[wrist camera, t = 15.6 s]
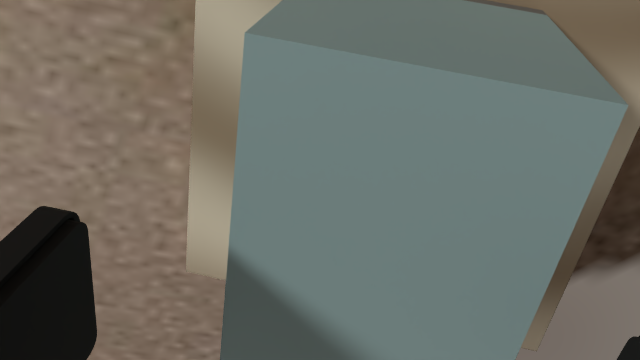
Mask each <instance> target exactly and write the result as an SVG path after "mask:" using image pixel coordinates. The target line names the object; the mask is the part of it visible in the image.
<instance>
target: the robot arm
mask: <svg viewBox="0 0 640 360" xmlns="http://www.w3.org/2000/svg"><path fill="white" fill-rule="evenodd" d="M96 337H97V327H96V315H95V304H94V293H93V282H92V271H91V259H90V248H89V237H88V228H87V225H86V224H85V223H83V222H80V219H79V216H78V215H77V213H75V212H71V211H66V210H61V209H57V208H52V207H47V206H41V207H39V208H37V209H36V210H34V211H33V212H32V213H31V214H30V215H29V216H28V217H27V218H26V219H25V220H23V221H22V222H21V223H20V224H19V225H18V226H17V227H16V228H15V229H14V230H12V231H11V232H10V233H9V234H8V235H7V236H6V237H5V238H4V239H3V240H2V241H0V360H86V359H87V358H88V356H89V355H90V353H91V352H92V350H93V347H94V345H95V342H96ZM617 360H640V336H639V337H632V338H630V339H629V340H628V342H627V343H626V345H625V346H624V348H623V350H622V351H621V353H620V355H619V357H618V358H617Z"/></svg>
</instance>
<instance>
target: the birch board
mask: <svg viewBox="0 0 640 360" xmlns="http://www.w3.org/2000/svg"><path fill="white" fill-rule="evenodd" d="M281 1H282V0H196V9H195V36H194V64H193V91H192V119H191V146H190V174H189V202H188V229H187V257H186V272H191V273H195V274H199V275H204V276H208V277H213V278H217V279H221V280H226V274H227V260H228V247H229V234H230V221H231V207H232V194H233V181H234V168H235V154H236V141H237V128H238V115H239V101H240V88H241V75H242V62H243V48H244V35H245V32H246V31H247V30H248V29H250V28H251V27H252V26H253V25H254V24H255V23H257V22H258V21H259V20H260V19H261V18H262V17H264V16H265V15H266V14H267V13H268V12H269V11H271V10H272V9H273V8H274V7H275V6H276V5H278V4H279V3H280V2H281ZM488 1H494V2H499V3H505V4H510V5H516V6H522V7H527V8H533V9H538V10H543V11H544V12H545V13H546V14H547V16H548V17H549V18H550V19H551V20H552V21H553V22H554V23H555V24H556V25H557V27H558V28H559V29H560V30H561V31H562V32H563V33H564V34H565V35H566V37H567V38H568V39H569V40H570V41H571V42H572V43H573V44H574V45H575V46H576V48H577V49H578V50H579V51H580V52H581V53H582V54H583V55H584V56H585V58H586V59H587V60H588V61H589V62H590V63H591V64H592V65H593V66H594V68H595V69H596V70H597V71H598V72H599V73H600V74H601V75H602V76H603V77H604V79H605V80H606V81H607V82H608V83H609V84H610V85H611V86H612V87H613V89H614V90H615V91H616V92H617V93H618V94H619V95H620V96H621V97H622V98H623V100H624V101H625V102H626V103H627V104H628V108H627V110H626V112H625V114H624V117H623V119H622V121H621V123H620V126H619V128H618V130H617V132H616V135H615V137H614V139H613V141H612V144H611V146H610V148H609V150H608V153H607V155H606V157H605V159H604V161H603V164H602V166H601V168H600V170H599V173H598V175H597V177H596V179H595V182H594V184H593V186H592V188H591V191H590V193H589V195H588V197H587V200H586V202H585V204H584V206H583V209H582V211H581V213H580V215H579V218H578V220H577V222H576V224H575V227H574V229H573V231H572V233H571V236H570V238H569V240H568V242H567V244H566V247H565V249H564V251H563V253H562V256H561V258H560V260H559V262H558V265H557V267H556V269H555V271H554V274H553V276H552V278H551V280H550V283H549V285H548V287H547V289H546V292H545V294H544V296H543V298H542V301H541V303H540V305H539V307H538V310H537V312H536V314H535V316H534V318H533V321H532V323H531V325H530V327H529V330H528V332H527V334H526V336H525V339H524V341H523V343H522V345H521V348H524V349H528V350H533V351H537V349H538V347H539V345H540V343H541V341H542V338H543V336H544V334H545V332H546V330H547V328H548V325H549V323H550V321H551V319H552V317H553V315H554V312H555V310H556V308H557V306H558V303H559V301H560V299H561V297H562V295H563V293H564V290H565V288H566V286H567V284H568V282H569V280H570V277H571V275H572V273H573V271H574V269H575V266H576V264H577V262H578V260H579V258H580V255H581V253H582V251H583V249H584V247H585V245H586V242H587V240H588V238H589V236H590V234H591V231H592V229H593V227H594V225H595V223H596V220H597V218H598V216H599V214H600V212H601V209H602V207H603V205H604V203H605V201H606V199H607V196H608V194H609V192H610V190H611V188H612V185H613V183H614V181H615V179H616V177H617V174H618V172H619V170H620V168H621V166H622V164H623V161H624V159H625V157H626V155H627V153H628V150H629V148H630V146H631V144H632V142H633V139H634V137H635V135H636V133H637V131H638V129H639V126H640V0H488Z"/></svg>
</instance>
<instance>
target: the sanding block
mask: <svg viewBox="0 0 640 360" xmlns="http://www.w3.org/2000/svg"><path fill="white" fill-rule="evenodd" d="M627 108H628V104H627V103H626V102H625V101H624V100H623V98H622V97H621V96H620V95H619V94H618V93H617V92H616V91H615V90H614V89H613V87H612V86H611V85H610V84H609V83H608V82H607V81H606V80H605V79H604V77H603V76H602V75H601V74H600V73H599V72H598V71H597V70H596V69H595V68H594V66H593V65H592V64H591V63H590V62H589V61H588V60H587V59H586V58H585V56H584V55H583V54H582V53H581V52H580V51H579V50H578V49H577V48H576V46H575V45H574V44H573V43H572V42H571V41H570V40H569V39H568V38H567V37H566V35H565V34H564V33H563V32H562V31H561V30H560V29H559V28H558V27H557V25H556V24H555V23H554V22H553V21H552V20H551V19H550V18H549V17H548V16H547V14H546V13H545V12H544V11H543V10H538V9H533V8H527V7H522V6H516V5H510V4H505V3H499V2H494V1H488V0H282V1H281V2H280V3H279V4H278V5H276V6H275V7H274V8H273V9H272V10H271V11H269V12H268V13H267V14H266V15H265V16H264V17H262V18H261V19H260V20H259V21H258V22H257V23H255V24H254V25H253V26H252V27H251V28H250V29H248V30H247V31H246V32H245V35H244V48H243V62H242V75H241V88H240V101H239V115H238V128H237V141H236V154H235V168H234V181H233V194H232V207H231V221H230V234H229V247H228V260H227V274H226V287H225V300H224V314H223V327H222V340H221V353H220V360H515V359H516V357H517V354H518V352H519V350H520V348H521V345H522V343H523V341H524V339H525V336H526V334H527V332H528V330H529V327H530V325H531V323H532V321H533V318H534V316H535V314H536V312H537V310H538V307H539V305H540V303H541V301H542V298H543V296H544V294H545V292H546V289H547V287H548V285H549V283H550V280H551V278H552V276H553V274H554V271H555V269H556V267H557V265H558V262H559V260H560V258H561V256H562V253H563V251H564V249H565V247H566V244H567V242H568V240H569V238H570V236H571V233H572V231H573V229H574V227H575V224H576V222H577V220H578V218H579V215H580V213H581V211H582V209H583V206H584V204H585V202H586V200H587V197H588V195H589V193H590V191H591V188H592V186H593V184H594V182H595V179H596V177H597V175H598V173H599V170H600V168H601V166H602V164H603V161H604V159H605V157H606V155H607V153H608V150H609V148H610V146H611V144H612V141H613V139H614V137H615V135H616V132H617V130H618V128H619V126H620V123H621V121H622V119H623V117H624V114H625V112H626V110H627Z"/></svg>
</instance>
